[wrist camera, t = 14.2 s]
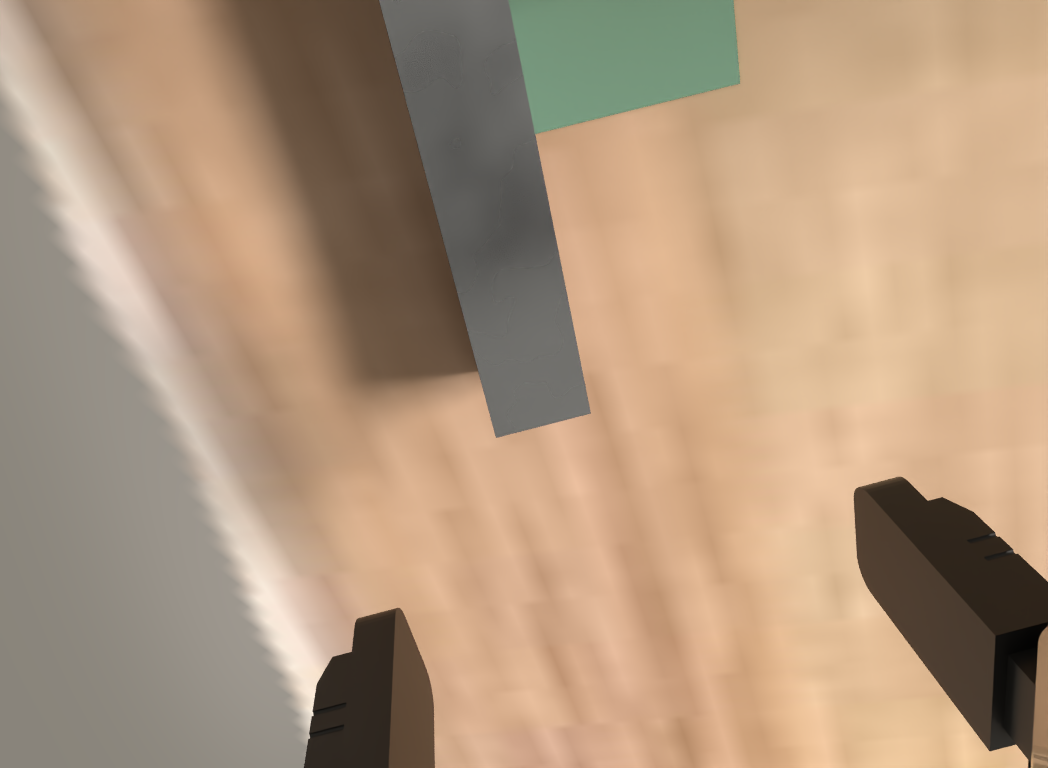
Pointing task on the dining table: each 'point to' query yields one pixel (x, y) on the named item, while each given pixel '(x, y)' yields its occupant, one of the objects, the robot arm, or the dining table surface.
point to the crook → (490, 203)
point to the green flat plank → (620, 54)
